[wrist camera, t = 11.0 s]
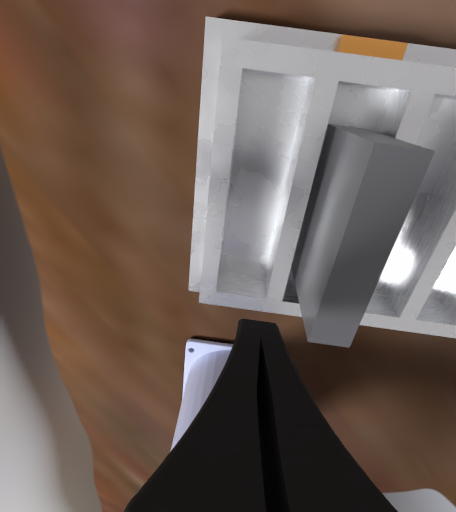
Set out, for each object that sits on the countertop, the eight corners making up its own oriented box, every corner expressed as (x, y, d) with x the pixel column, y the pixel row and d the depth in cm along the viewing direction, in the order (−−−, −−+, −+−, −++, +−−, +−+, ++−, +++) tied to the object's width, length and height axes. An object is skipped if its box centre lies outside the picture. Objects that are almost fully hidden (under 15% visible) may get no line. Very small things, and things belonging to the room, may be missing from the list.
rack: (451, 318, 23) (483, 354, 20) (191, 282, 23) (181, 312, 20) (606, 73, 15) (697, 68, 12) (208, 21, 15) (197, 2, 12)
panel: (320, 270, 20) (349, 347, 14) (291, 266, 20) (307, 341, 14) (365, 128, 16) (435, 151, 10) (327, 123, 16) (374, 142, 10)
